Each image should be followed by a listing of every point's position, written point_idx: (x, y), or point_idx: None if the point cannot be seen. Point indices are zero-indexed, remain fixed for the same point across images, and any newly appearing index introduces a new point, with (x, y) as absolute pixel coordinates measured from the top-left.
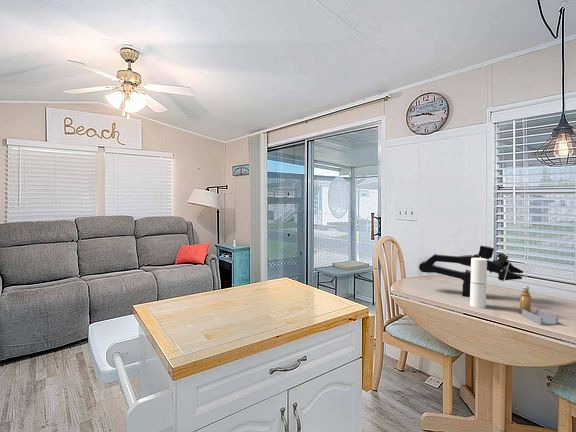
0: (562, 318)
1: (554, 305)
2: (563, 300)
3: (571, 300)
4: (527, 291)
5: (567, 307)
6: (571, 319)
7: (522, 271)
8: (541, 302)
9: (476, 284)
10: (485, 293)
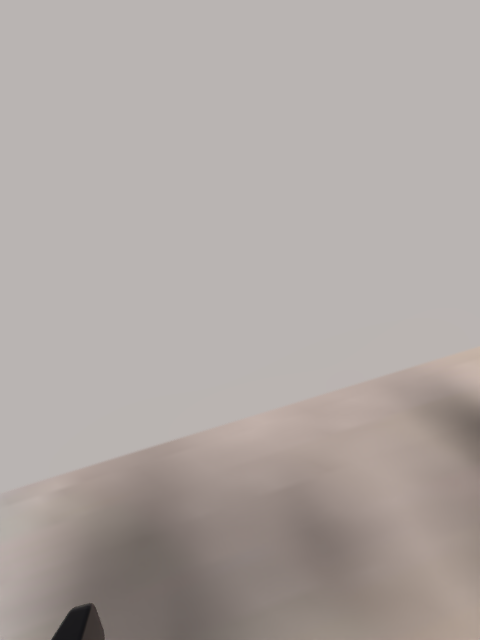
0: (441, 387)
1: (192, 503)
2: (24, 516)
3: (6, 491)
4: None
5: (186, 450)
6: (407, 368)
7: (89, 622)
8: (167, 594)
9: None
10: None
